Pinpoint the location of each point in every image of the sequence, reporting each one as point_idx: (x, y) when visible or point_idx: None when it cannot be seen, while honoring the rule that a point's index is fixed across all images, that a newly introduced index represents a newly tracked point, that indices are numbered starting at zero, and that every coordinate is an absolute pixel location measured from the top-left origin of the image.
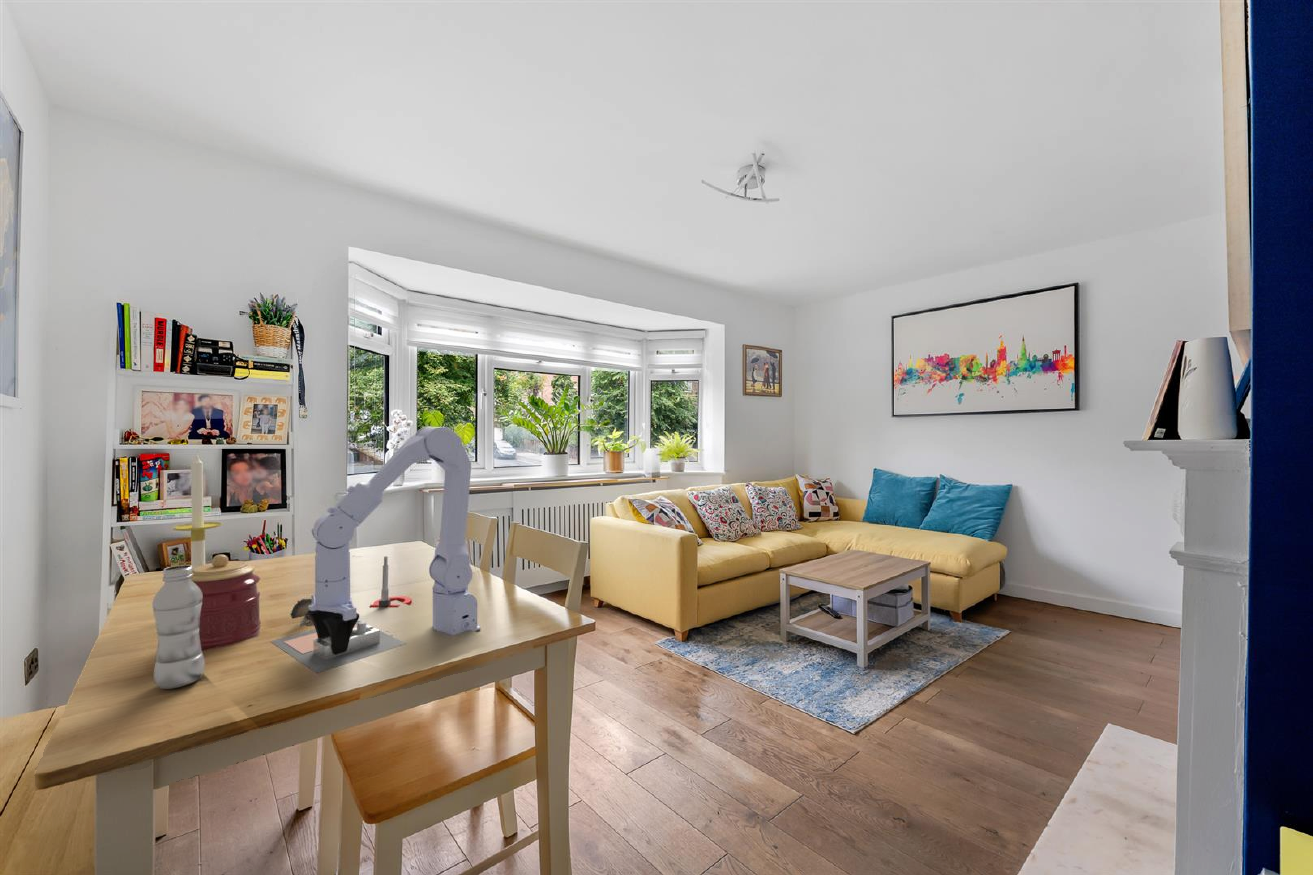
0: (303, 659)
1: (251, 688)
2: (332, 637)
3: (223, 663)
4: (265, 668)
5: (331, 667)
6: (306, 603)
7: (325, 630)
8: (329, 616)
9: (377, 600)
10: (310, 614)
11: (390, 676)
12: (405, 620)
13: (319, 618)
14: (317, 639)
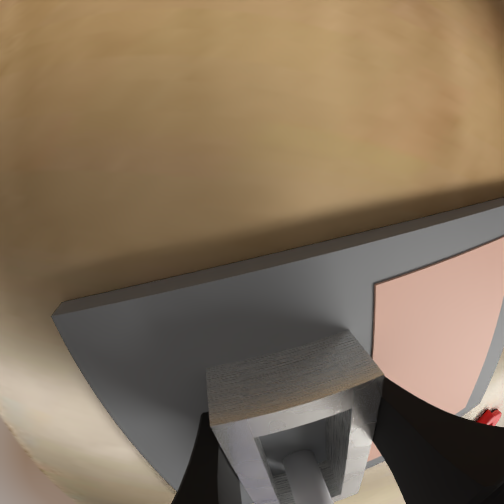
0: (295, 284)
1: (143, 22)
2: (179, 495)
3: (484, 44)
4: (372, 111)
5: (92, 372)
6: None
7: (395, 437)
8: (424, 501)
9: (500, 415)
10: (494, 484)
11: (22, 438)
12: (385, 479)
13: (444, 482)
14: (370, 391)
